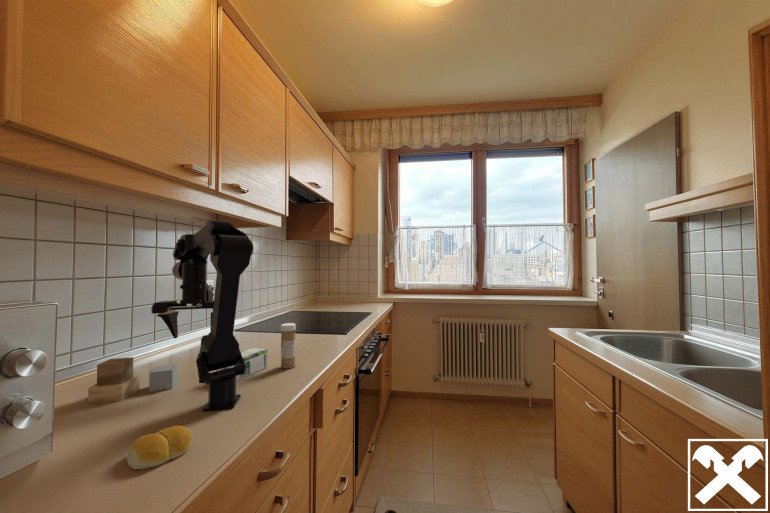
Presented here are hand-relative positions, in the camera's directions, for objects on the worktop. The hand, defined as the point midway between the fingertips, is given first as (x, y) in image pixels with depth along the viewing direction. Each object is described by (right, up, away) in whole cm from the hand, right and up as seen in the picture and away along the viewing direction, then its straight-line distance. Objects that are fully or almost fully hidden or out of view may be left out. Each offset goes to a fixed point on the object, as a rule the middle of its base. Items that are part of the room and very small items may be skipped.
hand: (194, 337), depth 85 cm
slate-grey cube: (-6, -13, -3) cm, 14 cm away
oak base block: (-15, -13, -8) cm, 21 cm away
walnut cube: (-15, -9, -8) cm, 19 cm away
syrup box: (+13, -10, +13) cm, 21 cm away
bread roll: (+14, -12, -32) cm, 37 cm away
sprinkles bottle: (+22, -13, +12) cm, 28 cm away
